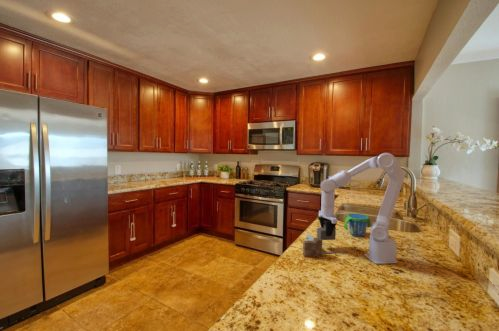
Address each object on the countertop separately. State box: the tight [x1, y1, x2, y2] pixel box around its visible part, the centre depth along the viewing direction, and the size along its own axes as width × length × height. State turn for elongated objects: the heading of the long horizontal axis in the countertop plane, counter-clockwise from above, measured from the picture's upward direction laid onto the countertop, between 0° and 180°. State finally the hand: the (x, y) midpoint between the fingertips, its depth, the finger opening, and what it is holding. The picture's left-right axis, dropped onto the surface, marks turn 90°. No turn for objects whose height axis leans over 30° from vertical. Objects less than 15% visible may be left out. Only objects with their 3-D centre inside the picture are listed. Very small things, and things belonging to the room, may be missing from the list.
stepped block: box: [316, 224, 337, 241], centre depth 103 cm, size 7×4×6 cm, turn 96°
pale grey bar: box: [305, 233, 315, 241], centre depth 104 cm, size 12×2×4 cm, turn 11°
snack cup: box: [343, 212, 372, 237], centre depth 121 cm, size 16×10×10 cm
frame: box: [302, 237, 349, 258], centre depth 97 cm, size 21×4×7 cm, turn 96°
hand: (326, 234), depth 104 cm, fingers closed on stepped block, 4 cm apart
